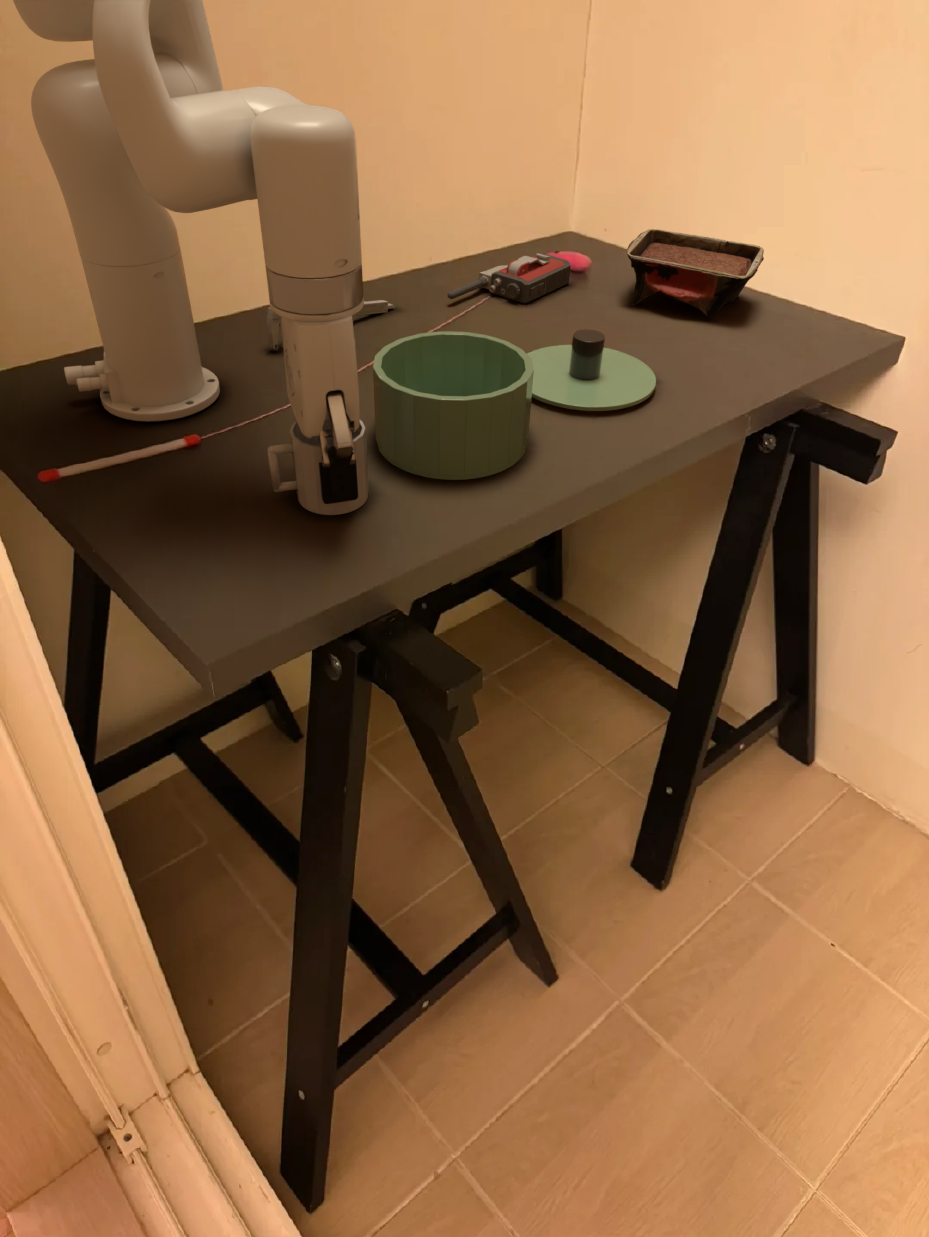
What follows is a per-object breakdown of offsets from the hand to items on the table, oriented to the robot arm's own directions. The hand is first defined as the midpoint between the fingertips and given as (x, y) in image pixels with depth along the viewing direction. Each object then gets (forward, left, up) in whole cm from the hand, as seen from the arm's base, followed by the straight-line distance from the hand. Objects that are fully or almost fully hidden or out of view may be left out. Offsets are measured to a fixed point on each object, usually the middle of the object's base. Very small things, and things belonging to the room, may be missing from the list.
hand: (331, 478), depth 81 cm
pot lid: (+33, +16, -1) cm, 37 cm away
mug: (-1, 0, -2) cm, 2 cm away
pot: (+14, +7, -2) cm, 16 cm away
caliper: (+8, +39, -2) cm, 40 cm away
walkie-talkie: (+35, +45, -2) cm, 57 cm away
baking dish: (+58, +36, -2) cm, 68 cm away
